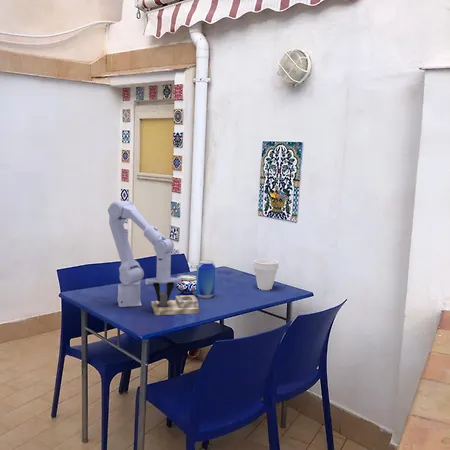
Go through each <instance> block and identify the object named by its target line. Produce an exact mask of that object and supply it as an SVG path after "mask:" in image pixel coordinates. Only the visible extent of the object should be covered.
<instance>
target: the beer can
mask: <svg viewBox="0 0 450 450" xmlns="http://www.w3.org/2000/svg"><path fill="white" fill-rule="evenodd" d="M195 281H196V283H195V284H196V289H195V294H196V295H197V297H198V298H203V299H210V298H212V297H214V295H215V291H216V290H215V289H216V288H215V287H216V286H215V285H216V265H215V263H214V261H213V260H210V259H209V260H208V259H205V260H199V262H198V264H197V265H196V280H195Z"/></svg>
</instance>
